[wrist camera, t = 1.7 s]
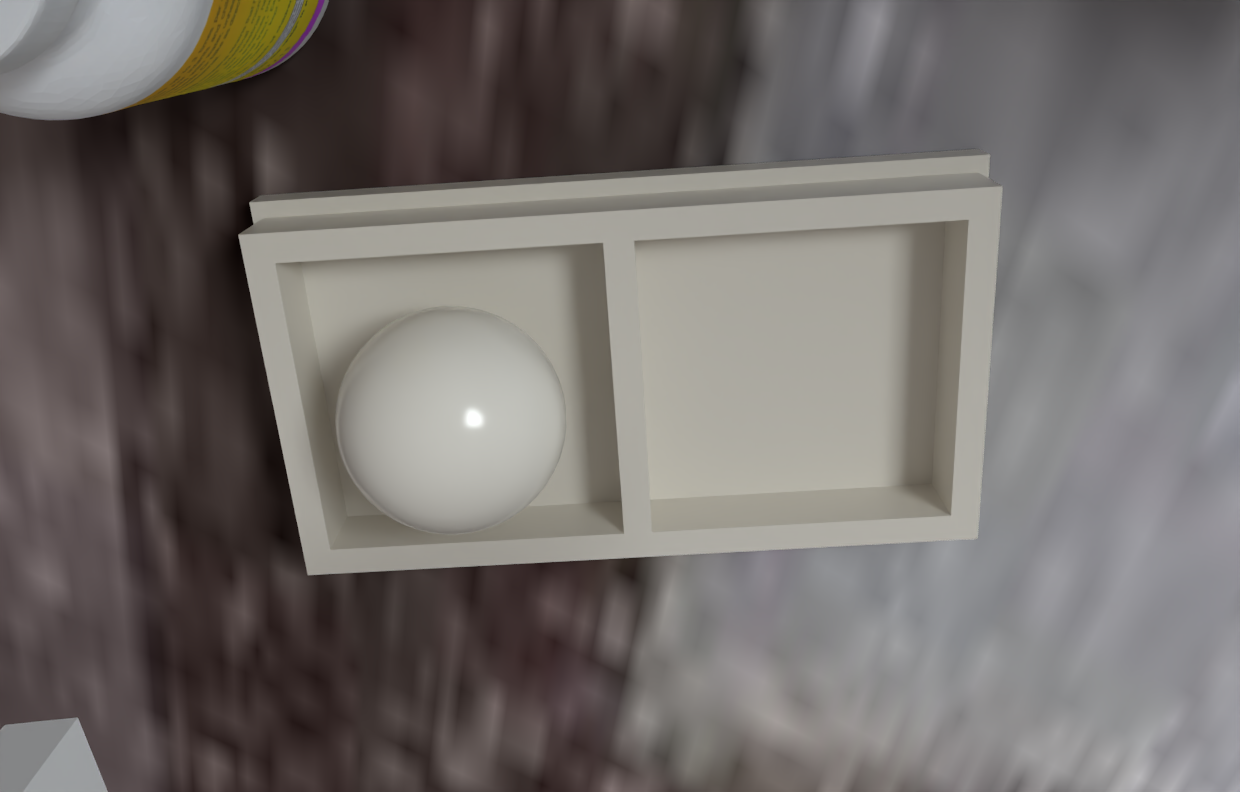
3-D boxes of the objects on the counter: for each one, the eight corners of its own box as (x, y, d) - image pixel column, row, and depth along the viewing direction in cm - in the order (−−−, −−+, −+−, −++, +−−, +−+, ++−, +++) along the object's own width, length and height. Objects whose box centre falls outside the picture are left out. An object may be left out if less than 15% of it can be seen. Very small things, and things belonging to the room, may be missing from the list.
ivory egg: (349, 285, 29) (285, 358, 24) (562, 272, 29) (548, 342, 24) (381, 477, 32) (329, 585, 26) (580, 466, 31) (570, 572, 26)
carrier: (327, 537, 34) (300, 588, 31) (261, 195, 29) (223, 218, 27) (956, 503, 33) (986, 551, 30) (978, 148, 29) (1016, 167, 26)
